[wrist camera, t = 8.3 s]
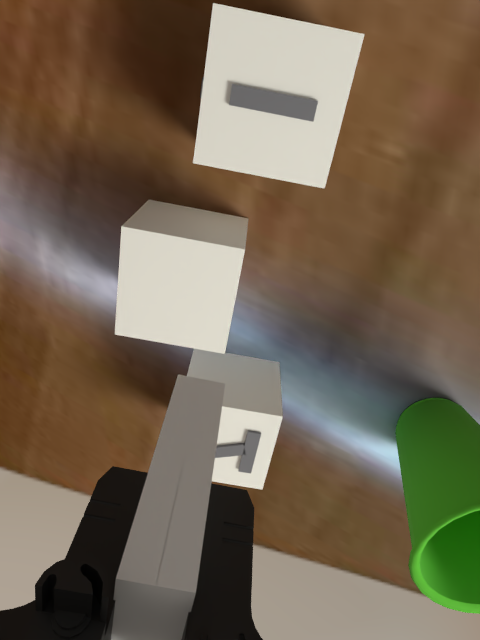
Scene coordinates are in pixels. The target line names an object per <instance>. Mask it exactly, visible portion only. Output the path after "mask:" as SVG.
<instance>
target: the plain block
mask: <svg viewBox="0 0 480 640" xmlns="http://www.w3.org/2000/svg"><path fill="white" fill-rule="evenodd" d="M247 226H248V218H243V217H238V216H233V215H228V214H222V213H217V212H212V211H207V210H201V209H196V208H191V207H186V206H180V205H175V204H170V203H165V202H159V201H154V200H148V201H147V202H146V203H145V204H144V205H143V206H142V207H141V208H140V209H139V210H138V211H137V212H136V213H135V214H134V215H133V216H131V217H130V218H129V219H128V220H127V221H126V222H125V223H124V224H123V225H122V226H121V242H120V258H119V274H118V290H117V306H116V322H115V335H121V336H126V337H132V338H138V339H143V340H149V341H154V342H160V343H166V344H171V345H177V346H183V347H188V348H194V349H200V350H205V351H211V352H216V353H222V354H225V351H226V345H227V340H228V335H229V330H230V325H231V319H232V314H233V309H234V304H235V299H236V294H237V288H238V283H239V278H240V273H241V268H242V263H243V257H244V252H245V245H246V236H247Z"/></svg>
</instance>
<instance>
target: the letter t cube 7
mask: <svg viewBox="0 0 480 640" xmlns="http://www.w3.org/2000/svg"><path fill="white" fill-rule="evenodd" d="M187 376H189V377H194V378H199V379H205V380H210V381H215V382H220V383H225V390H224V397H223V404H222V411H221V418H220V425H219V432H218V439H217V446H216V454H215V461H214V468H213V475H212V481H213V482H220V483H226V484H232V485H238V486H244V487H250V488H256V489H263V485H264V482H265V478H266V475H267V471H268V468H269V464H270V460H271V457H272V453H273V450H274V446H275V443H276V439H277V435H278V432H279V428H280V425H281V421H282V418H283V412H282V396H281V379H280V362H277V361H271V360H265V359H260V358H254V357H248V356H243V355H237V354H231V353H225V354H222V353H216V352H211V351H205V350H200V349H194V350H193V354H192V358H191V362H190V365H189V369H188V373H187Z"/></svg>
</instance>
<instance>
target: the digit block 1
mask: <svg viewBox="0 0 480 640" xmlns="http://www.w3.org/2000/svg"><path fill="white" fill-rule="evenodd" d="M363 38H364V34H361V33H356V32H351V31H346V30H341V29H336V28H332V27H327V26H322V25H317V24H312V23H308V22H303V21H298V20H293V19H288V18H283V17H279V16H274V15H269V14H264V13H259V12H254V11H250V10H245V9H240V8H235V7H230V6H226V5H221V4H216V3H213V8H212V16H211V24H210V32H209V40H208V48H207V56H206V64H205V72H204V78H202V85H201V93H200V98H201V104H200V112H199V120H198V128H197V136H196V144H195V152H194V160H193V163H195V164H200V165H206V166H211V167H216V168H221V169H226V170H231V171H237V172H242V173H247V174H252V175H257V176H263V177H268V178H273V179H278V180H283V181H289V182H294V183H299V184H304V185H309V186H314V187H320V188H325V185H326V181H327V177H328V173H329V170H330V166H331V162H332V158H333V154H334V150H335V146H336V143H337V139H338V135H339V131H340V127H341V123H342V119H343V115H344V112H345V108H346V104H347V100H348V96H349V92H350V88H351V84H352V81H353V77H354V73H355V69H356V65H357V61H358V57H359V53H360V50H361V46H362V42H363Z"/></svg>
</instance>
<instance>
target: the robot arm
mask: <svg viewBox="0 0 480 640" xmlns="http://www.w3.org/2000/svg"><path fill="white" fill-rule="evenodd" d="M224 390H225V383H220V382H215V381H210V380H205V379H199V378H194V377H189V376H184V375H179V374H178V376H177V380H176V383H175V386H174V389H173V393H172V396H171V399H170V403H169V406H168V409H167V412H166V416H165V419H164V422H163V425H162V429H161V432H160V435H159V439H158V442H157V445H156V448H155V452H154V455H153V458H152V462H151V465H150V468H149V471H148V473H146V472H140V471H135V470H130V469H124V468H119V467H114V466H113V467H112V468H111V469H110V470H109V471H108V472H106V473H105V474H104V475H103V476H102V477H101V478H100V479H99V480H98V482H97V485H96V487H95V489H94V492H93V494H92V496H91V499H90V502H89V503H88V506H87V508H86V511H85V513H84V517H83V518H82V520H81V522H80V525H79V527H78V530H77V532H76V534H75V537H74V539H73V541H72V544H71V546H70V548H69V551H68V553H67V556H66V558H65V559H64V560H61V561H59V562H56V563H55V564H54V565H52V566H51V567H50V568H48V569H47V570H46V571H44V573H43V574H42V575H41V577H40V578H39V580H38V581H37V583H36V585H35V597H36V598H35V600H34V601H32V602H31V603H28V604H26V605H24V606H21V607H17V608H14V609H9V610H3V611H0V640H263V639H262V638H261V637H260V635H259V633H258V632H257V630H256V628H255V626H254V622H253V619H252V613H251V587H252V558H253V547H252V546H253V528H254V507H253V504H252V502H251V499H250V497H249V494H248V492H247V490H243V489H238V488H232V487H227V486H222V485H216V484H211V482H212V475H213V468H214V461H215V454H216V446H217V439H218V432H219V425H220V418H221V411H222V404H223V397H224Z"/></svg>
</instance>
